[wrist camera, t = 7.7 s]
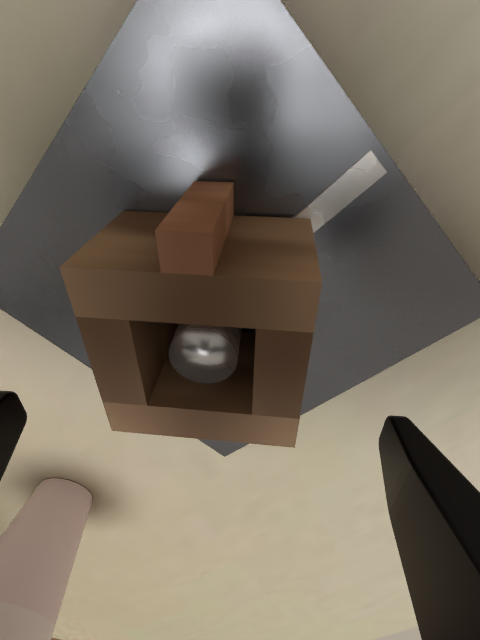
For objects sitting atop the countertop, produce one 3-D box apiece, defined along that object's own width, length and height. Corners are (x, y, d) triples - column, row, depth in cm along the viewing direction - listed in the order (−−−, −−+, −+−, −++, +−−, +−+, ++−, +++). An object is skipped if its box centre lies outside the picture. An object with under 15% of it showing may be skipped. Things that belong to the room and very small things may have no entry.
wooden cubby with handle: (149, 351, 15) (112, 430, 12) (117, 178, 11) (45, 224, 8) (292, 362, 14) (294, 447, 11) (314, 185, 10) (329, 238, 7)
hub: (-17, 274, 14) (-117, 341, 11) (209, -91, 8) (157, -227, 5) (226, 440, 19) (215, 525, 16) (483, 293, 13) (564, 377, 10)
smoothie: (88, 464, 22) (-116, 888, 10) (125, 516, 25) (4, 877, 14) (-1, 468, 23) (-272, 856, 12) (47, 517, 27) (-125, 853, 15)
